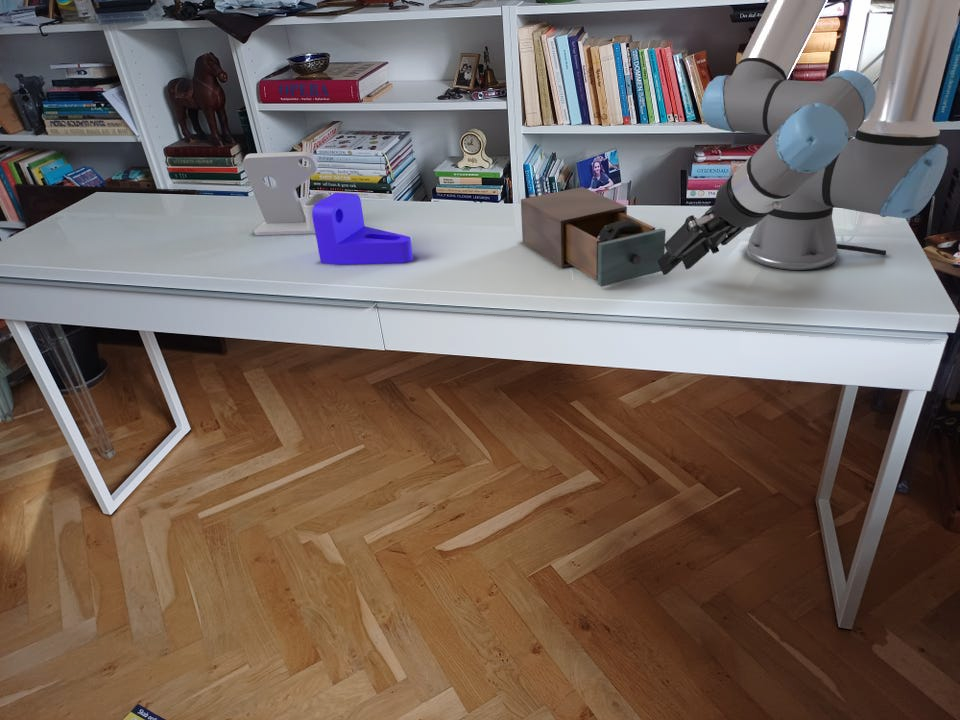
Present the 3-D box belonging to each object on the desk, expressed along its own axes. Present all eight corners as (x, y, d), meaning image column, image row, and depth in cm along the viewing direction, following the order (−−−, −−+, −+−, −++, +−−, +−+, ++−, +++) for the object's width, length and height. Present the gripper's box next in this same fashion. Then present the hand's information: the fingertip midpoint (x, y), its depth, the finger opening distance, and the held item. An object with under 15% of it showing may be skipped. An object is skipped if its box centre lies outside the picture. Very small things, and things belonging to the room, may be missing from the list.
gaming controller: (615, 265, 129) (586, 249, 130) (610, 278, 135) (581, 262, 135) (641, 223, 132) (612, 207, 133) (635, 237, 137) (607, 221, 138)
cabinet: (625, 252, 143) (627, 206, 138) (561, 268, 138) (560, 220, 134) (582, 229, 156) (582, 186, 152) (522, 243, 151) (520, 199, 147)
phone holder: (338, 218, 174) (325, 141, 165) (326, 233, 165) (311, 152, 157) (268, 221, 176) (251, 144, 168) (252, 235, 168) (234, 155, 159)
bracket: (320, 262, 149) (310, 206, 144) (349, 244, 158) (340, 190, 152) (399, 270, 143) (391, 211, 137) (424, 250, 152) (417, 194, 146)
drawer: (667, 273, 131) (670, 232, 127) (604, 289, 127) (605, 247, 123) (616, 245, 144) (616, 207, 141) (557, 259, 140) (557, 220, 136)
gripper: (715, 226, 100) (639, 295, 122) (810, 204, 106) (722, 273, 127) (692, 179, 102) (622, 255, 123) (788, 159, 108) (705, 235, 129)
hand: (673, 264), depth 125 cm, fingers open, 4 cm apart
